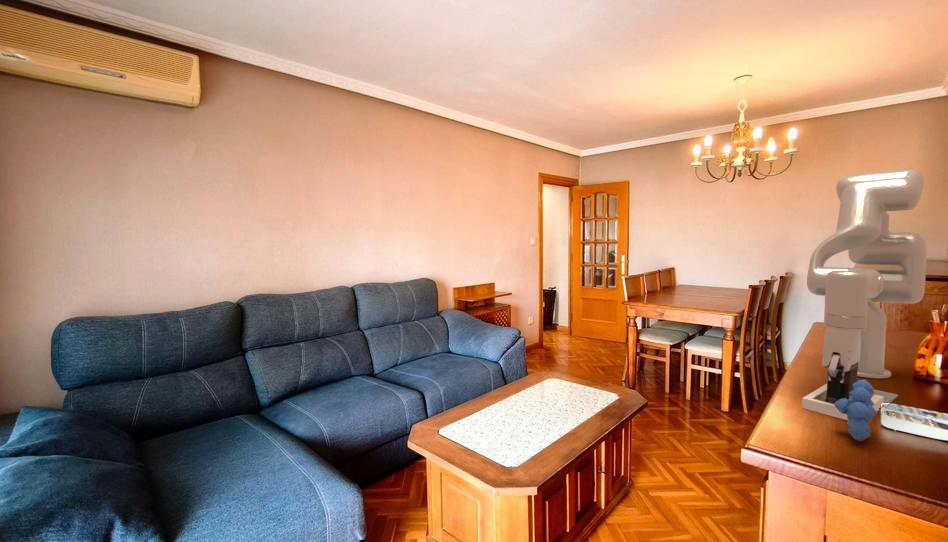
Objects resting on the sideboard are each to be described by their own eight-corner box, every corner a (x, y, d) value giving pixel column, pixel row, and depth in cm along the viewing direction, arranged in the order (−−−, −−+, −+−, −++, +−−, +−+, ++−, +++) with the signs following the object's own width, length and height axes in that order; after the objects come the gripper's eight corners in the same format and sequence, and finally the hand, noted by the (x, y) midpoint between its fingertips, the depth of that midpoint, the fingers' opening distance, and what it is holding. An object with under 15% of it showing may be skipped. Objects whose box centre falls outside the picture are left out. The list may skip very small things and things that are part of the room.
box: (849, 414, 95) (851, 364, 94) (824, 408, 99) (826, 360, 98) (857, 408, 98) (859, 360, 98) (833, 402, 102) (835, 355, 101)
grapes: (836, 421, 92) (838, 370, 91) (878, 431, 87) (881, 377, 86) (828, 439, 84) (830, 383, 83) (873, 451, 79) (876, 391, 78)
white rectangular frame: (826, 392, 108) (826, 383, 108) (883, 406, 99) (883, 396, 99) (801, 408, 99) (802, 398, 99) (862, 424, 90) (862, 413, 90)
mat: (838, 383, 115) (838, 381, 115) (898, 396, 105) (898, 394, 105) (824, 391, 109) (824, 390, 109) (886, 406, 99) (886, 404, 99)
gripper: (836, 315, 105) (833, 383, 106) (811, 324, 95) (808, 398, 97) (876, 319, 99) (873, 391, 100) (854, 329, 89) (850, 408, 91)
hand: (841, 394), depth 98 cm, fingers closed on box, 5 cm apart
